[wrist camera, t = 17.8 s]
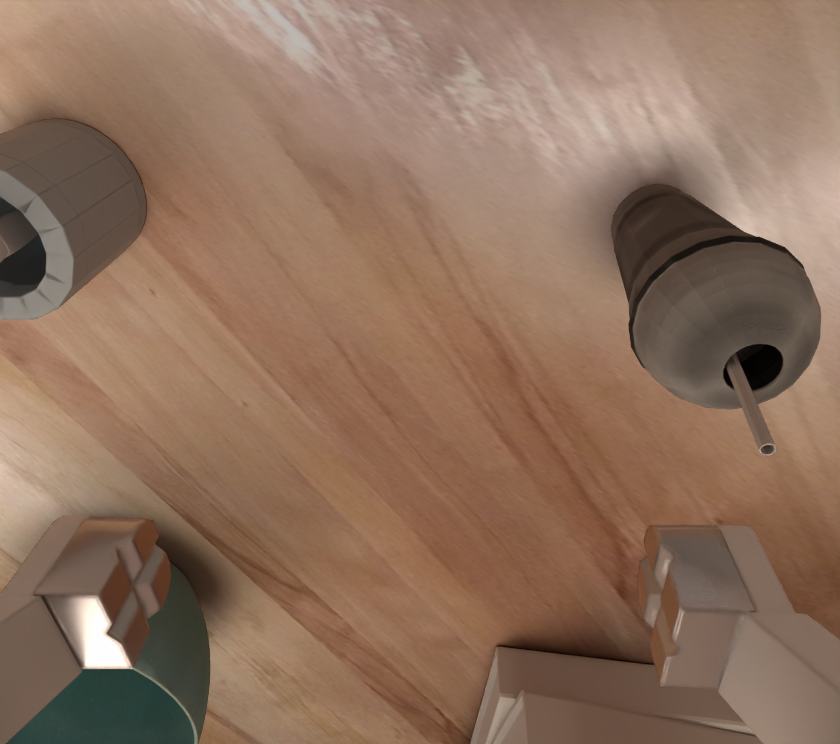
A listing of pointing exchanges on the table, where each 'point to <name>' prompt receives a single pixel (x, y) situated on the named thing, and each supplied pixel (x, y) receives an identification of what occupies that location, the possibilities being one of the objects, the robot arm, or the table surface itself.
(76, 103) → the table surface
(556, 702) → the book stack
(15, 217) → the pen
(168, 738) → the green bowl
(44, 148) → the grey faceted canister
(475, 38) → the table surface
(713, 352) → the beverage cup
